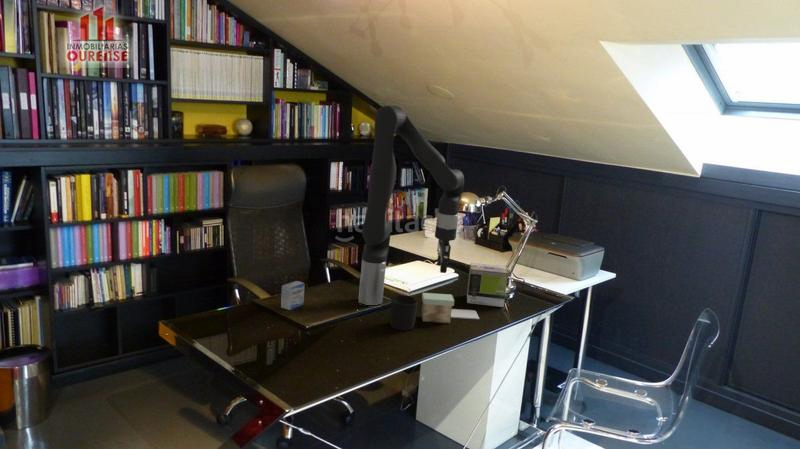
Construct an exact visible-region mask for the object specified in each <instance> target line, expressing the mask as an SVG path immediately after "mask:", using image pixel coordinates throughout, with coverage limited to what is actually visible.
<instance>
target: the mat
mask: <svg viewBox="0 0 800 449" xmlns="http://www.w3.org/2000/svg"><path fill="white" fill-rule="evenodd" d="M452 318H453V319H466V320H468V319H469V320H480V317H479V315H478V313H477V311H476V310H473V309H458V308H452V311H451V319H452Z"/></svg>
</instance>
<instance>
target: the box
mask: <svg viewBox="0 0 800 449" xmlns="http://www.w3.org/2000/svg"><path fill="white" fill-rule="evenodd" d="M421 309H422V310H421V320H422V322H424V323H425V322H426V323H427V322H428V323H440V324H451V319H452V318H451V311H452V309H453V306H445V305H430V304H424V303H423V302H422V308H421Z"/></svg>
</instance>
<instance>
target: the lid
mask: <svg viewBox="0 0 800 449" xmlns="http://www.w3.org/2000/svg"><path fill="white" fill-rule="evenodd" d="M421 293H422V296H421V298H422V299H421V300H422V304H423V303H424V304H430V305H445V306H452V307H454V306H455V299H454V296H453V295H452V294H450V293H449V294H447V293H435V292H434V293H432V292H421Z"/></svg>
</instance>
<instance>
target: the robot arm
mask: <svg viewBox="0 0 800 449" xmlns="http://www.w3.org/2000/svg"><path fill="white" fill-rule="evenodd" d="M395 134H397V135H398V136H400V137H401V138H402V139H403V140H404V141H405V142H406V143H407V145H408V146H409V148H410V150H411V152H412V153H413V155H414V157H416V159H417V160H418V161H419V163H421V165H422V166H423V167H424V168H425V169H426V170H428V172H430V175H431V176H432V178H433V179H434V181H435V182H436V183H437V185H438V186H439V187H440V188H441V189H442V190H443V195H442V196H441V197H440V199H439V201H438V210H437V217H436V222H435V232H434V237H435V239H437V240H438V242H437V250H436V252H437V263H436V264H437V266H440V269H439V272H440V273H441V274H446V273H447V268H448V263H450V259H451V258H450V257H451V249H452V248H451V244H450V242H451V241H455V240H456V239H457V231H458V221H459V220H458V219H459V218H458V216H459V208H460V200H461V197H462V193H463V192H464V191H463V189H464V186H465V177H464V176H465V175H464V174H463V172H462V171H461V170H459V169H457V168H454V169H453V168H452V169H451V168H450V167H449V166H448V165H447V164H446V160H445V157H444V156H443V155H442V154H441V153H440V152H439V151H438V150H437V149H436V148H435V147H434V146H433V145H432V144H431V143H430V142H429V141H428V140H427V139H426V138H425V137H424V136H423V134H421V132H420V131H419V130H418V129H417V127H416V126H415V125H414V123H413V122H412V120H411V119H410V118H409V116H408V115H407V113H406V112H405V111H404V109H402V108H401V107H400V106H397V105H384V106H381V107H379V108H378V109H377V111H376V113H375V117H374V138H373V139H374V140H373V149H372V151H373V152H372V158H371V165H370V175H369V185H368V193H367V194H368V195H367V207H366V211H365V217H364V221H363V225H362V229H361V230H362V231H361V232H362V233H361V234H362V237H363V239H364V240H363V241H364V242H365V246H364V248H363V251H362V254H361V255H362V256H361V257H362V258H361V270H360V276H359V288H358V290H359V291H358V303H362V304H365V305H378V304H381V303H382V304H383V300H384V286H385V277H386V276H385V275H386V267H387V266H386V265H387V257H388V254H389V249H390V242H391V241H390V240H391V225H390V223H389V221H388V220H387V219H386V217H387V216H386V215H387V209H388V205H389V203H390V200H391V197H392V194H393V191H394V187H395V182H396V175H397V174H396V173H397V165H396V158H395V154H394V138H395ZM362 304H361V305H362ZM382 304H381V305H382ZM365 305H364V306H365Z"/></svg>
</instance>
